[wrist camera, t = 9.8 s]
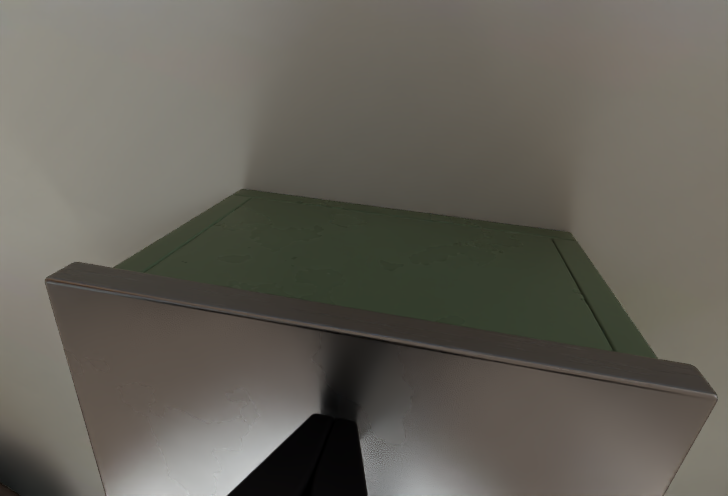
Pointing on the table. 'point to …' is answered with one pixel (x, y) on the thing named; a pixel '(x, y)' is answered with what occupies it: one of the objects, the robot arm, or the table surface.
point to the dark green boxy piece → (399, 267)
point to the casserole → (7, 491)
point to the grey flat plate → (357, 394)
